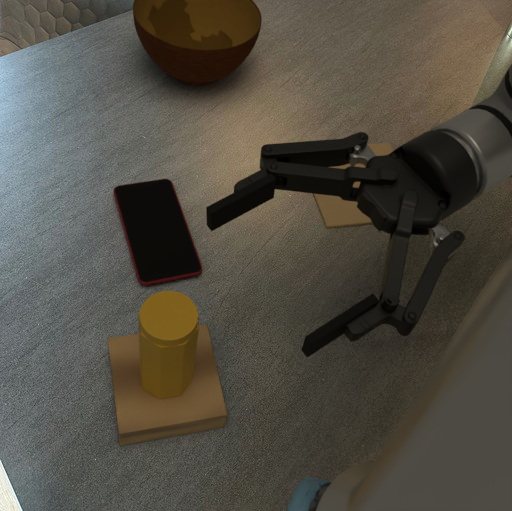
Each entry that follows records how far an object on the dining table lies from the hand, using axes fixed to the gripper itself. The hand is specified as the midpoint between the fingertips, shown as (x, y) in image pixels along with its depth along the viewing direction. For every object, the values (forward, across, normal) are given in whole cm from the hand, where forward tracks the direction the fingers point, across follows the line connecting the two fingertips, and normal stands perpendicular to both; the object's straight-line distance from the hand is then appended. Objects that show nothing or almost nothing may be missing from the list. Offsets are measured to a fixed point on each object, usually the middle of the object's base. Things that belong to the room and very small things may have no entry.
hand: (254, 280), depth 50 cm
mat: (-28, +14, -23) cm, 39 cm away
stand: (+8, +2, -17) cm, 19 cm away
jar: (+8, +2, -14) cm, 17 cm away
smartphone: (0, +20, -20) cm, 28 cm away
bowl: (-20, +44, -24) cm, 54 cm away
